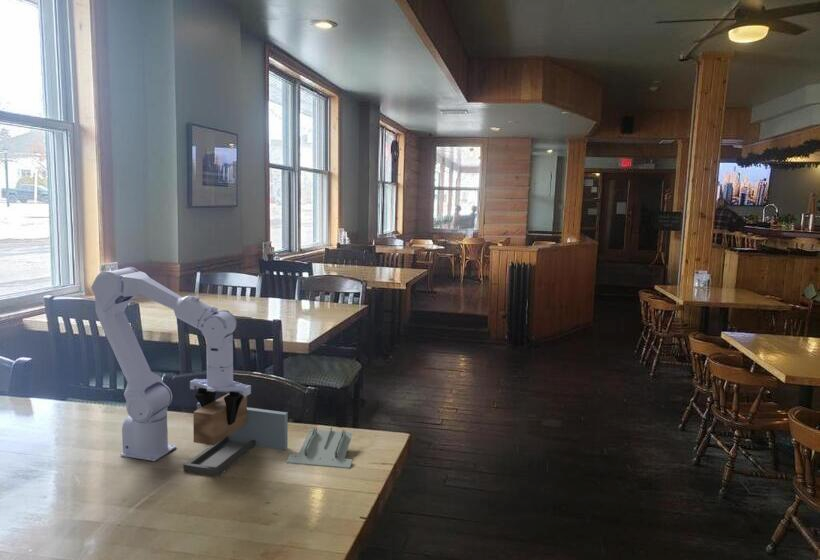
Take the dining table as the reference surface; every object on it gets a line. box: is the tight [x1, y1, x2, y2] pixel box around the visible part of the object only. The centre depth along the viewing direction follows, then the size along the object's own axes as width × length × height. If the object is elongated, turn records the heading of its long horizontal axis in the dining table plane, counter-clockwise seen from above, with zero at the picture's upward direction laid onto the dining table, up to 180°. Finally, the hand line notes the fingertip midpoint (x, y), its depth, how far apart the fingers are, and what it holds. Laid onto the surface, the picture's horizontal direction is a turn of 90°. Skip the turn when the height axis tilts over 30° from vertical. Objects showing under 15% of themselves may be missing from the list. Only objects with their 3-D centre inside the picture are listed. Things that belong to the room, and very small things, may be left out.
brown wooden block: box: [192, 393, 248, 446], centre depth 133 cm, size 5×14×7 cm, turn 166°
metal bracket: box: [286, 426, 353, 470], centre depth 137 cm, size 14×6×15 cm
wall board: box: [183, 401, 289, 477], centre depth 134 cm, size 24×18×9 cm
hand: (220, 421), depth 133 cm, fingers closed on brown wooden block, 5 cm apart
